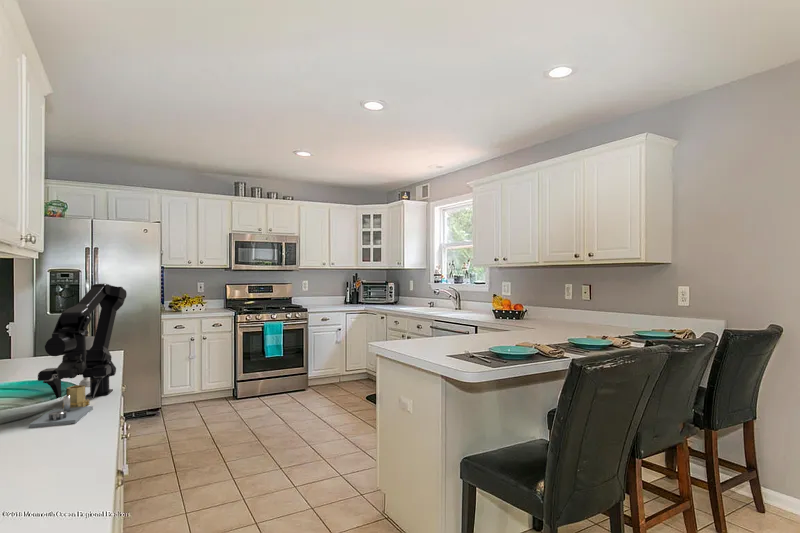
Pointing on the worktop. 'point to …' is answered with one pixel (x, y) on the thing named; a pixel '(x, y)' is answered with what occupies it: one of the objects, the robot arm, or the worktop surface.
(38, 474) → the worktop surface
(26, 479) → the worktop surface
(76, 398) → the planet gear
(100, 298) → the robot arm
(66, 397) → the plate
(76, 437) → the worktop surface
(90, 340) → the chalice
